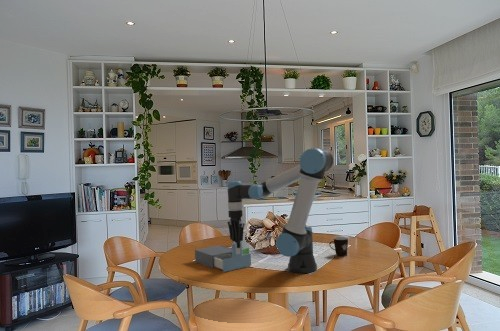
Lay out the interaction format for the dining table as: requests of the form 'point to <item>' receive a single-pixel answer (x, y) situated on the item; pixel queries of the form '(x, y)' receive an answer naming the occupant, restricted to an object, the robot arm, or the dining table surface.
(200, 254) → the slate blue box
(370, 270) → the dining table surface
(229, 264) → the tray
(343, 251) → the coffee mug
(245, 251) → the skincare box
